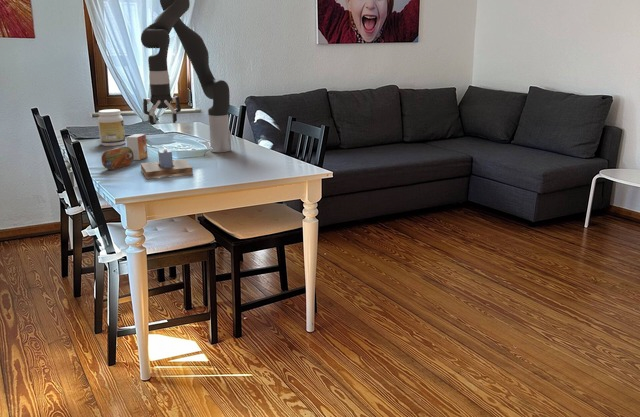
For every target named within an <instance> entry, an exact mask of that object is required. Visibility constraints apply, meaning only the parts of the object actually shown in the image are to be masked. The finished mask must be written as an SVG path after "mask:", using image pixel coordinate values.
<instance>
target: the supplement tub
mask: <svg viewBox="0 0 640 417" xmlns="http://www.w3.org/2000/svg"><path fill="white" fill-rule="evenodd" d="M121 114H122V113H121V110H120V109H119V108H118V109H117V108H116V109H115V108H113V109H112V108H111V109H109V108H108V109H102V110H98V117H97V126H98V132H99V134H98V135H99V141H100V144H101V145H102V146H105V147H117V146H121V145H124V144H126V142H127V141H126V133H125V125H124V124H125V123H124V117H123V116H122V115H121Z"/></svg>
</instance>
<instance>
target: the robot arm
mask: <svg viewBox="0 0 640 417" xmlns="http://www.w3.org/2000/svg"><path fill="white" fill-rule="evenodd" d="M190 3H191V2H190V0H159V4H160V7H161V9H162V12H161V13H159V14H158V16H156V18H155V20H154V21H153V23H151V24H149V25H148V26H147V27H145V28H144V29H143V31H142V32H141V35H140V42H141V43H142V44H141V45H142V46H143V47H144V48H146V49H159V50H158V53H156V54H151V55H149V56H148V57H147V58H148V59H147V60H148V61H147V62H148V71H149V73H148V74H149V75H148V78H149V79H148V80H149V87H150V88H149V90H150V98H142V103H143V104H142V105H143V106H142V109H143V110H142V112H143V113H144V114H145V115H148V120H149V123H150V124H151V125H152V126H154V125H155V122H154V121H155V120H154V115H153V114H154V112H155V111H156V110H157V109H158V110H162V109H164V110H165V109H167V108H168V109H169V111H171V113H172V114H171V115H172V123H174V124H176V122H177V121H178V117H177V116H178V115H177V113H180V112H182V109H181V103H180V102H181V101H180V97H179V96H177V95H176V96H172V94H171V84H170V82H171V81H170V75H169V71H168V70H169V68H168V52H169V48H170V47H169V46H170V41H171V38H170V33H171V32H172V29H174V31H175V33H176V36H177V37H178V40H179V41H180V43H181V45H182V48H183V50H184V51H185V54H186V56H187V58H188V60H189V61H190V64H191V65H192V66H191V67H192V68H193V69H194V72H195V73H196V76H197V78H198V80H199V83H200V87H201V89H202V92H203V93H204V95H205V96H206V98H208V99H210V100H212V106H211V107H209V108H208V109H207V115H208V131H209V147H212V148H213V149H212V150H211V149H210V152H213V153H226V152H231V151H232V136H231V134H232V133H231V130H230V123H229V122H230V121H229V109H230V102H231V101H230V98H231V97H230V86H229V84H228V82H227V81H225V80H223V79H216V78H215V77H214V76H215V75H214V74H213V73H212V70H211V69H210V62H209V61H210V60H209V58H210V57H209V55H210V54H209V51H208V48H207V46H206V43H205V42H204V39H203V38H202V36H201V35H199V33H197V32H196V31H194V30H193V29H192V28H191V27H189V26H188V25H186V24H185V22H183V20H182V19H181V17H182V16H184V14H185V13H186V12H188V10H189V9H190ZM172 101H173V102H174V103H175V107H176V108H174V107H173V106H172V105H171V103H172ZM150 103H151V104H152V105H151V107H150V108H149V110H148V105H149V104H150Z"/></svg>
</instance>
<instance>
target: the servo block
mask: <svg viewBox="0 0 640 417" xmlns="http://www.w3.org/2000/svg"><path fill="white" fill-rule="evenodd" d="M157 150H158V151H157V153H158V154H157V155H158V162H159V166H160V168H171V167H173V151H172V150H171V149H170V148H167V149H157Z"/></svg>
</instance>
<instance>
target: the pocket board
mask: <svg viewBox="0 0 640 417" xmlns="http://www.w3.org/2000/svg"><path fill="white" fill-rule="evenodd" d="M172 160H173V159H172ZM140 170H141V172H142V174H143V173H144V174H143V175H144V177H145V176H146V177H145V178H147V179H146V180H151V179H150V178H157V179H160V178H159V177H166V178H170V177H169V176H175V177H182V176H181V175H185V176H192V175H193V174H194V172H193V167H192V165H191V164H190V163H188V162H187V161H186V159H184V158H183V159H182V158H181V159H174V160H173V167H171V168H160V166H159V161H151V162H141V163H140Z"/></svg>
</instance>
